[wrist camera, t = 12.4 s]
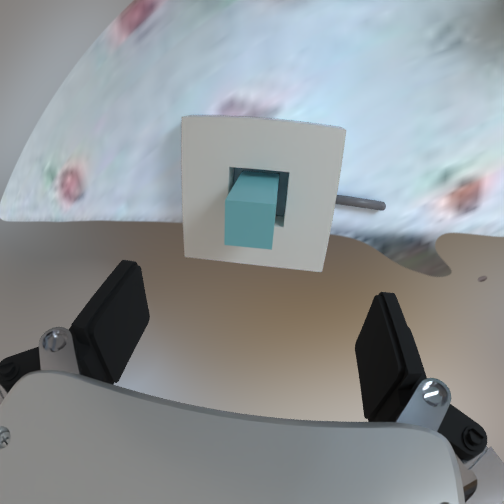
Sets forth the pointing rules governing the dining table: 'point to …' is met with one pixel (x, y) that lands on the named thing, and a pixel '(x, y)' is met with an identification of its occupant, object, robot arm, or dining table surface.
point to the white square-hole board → (266, 158)
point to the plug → (251, 210)
